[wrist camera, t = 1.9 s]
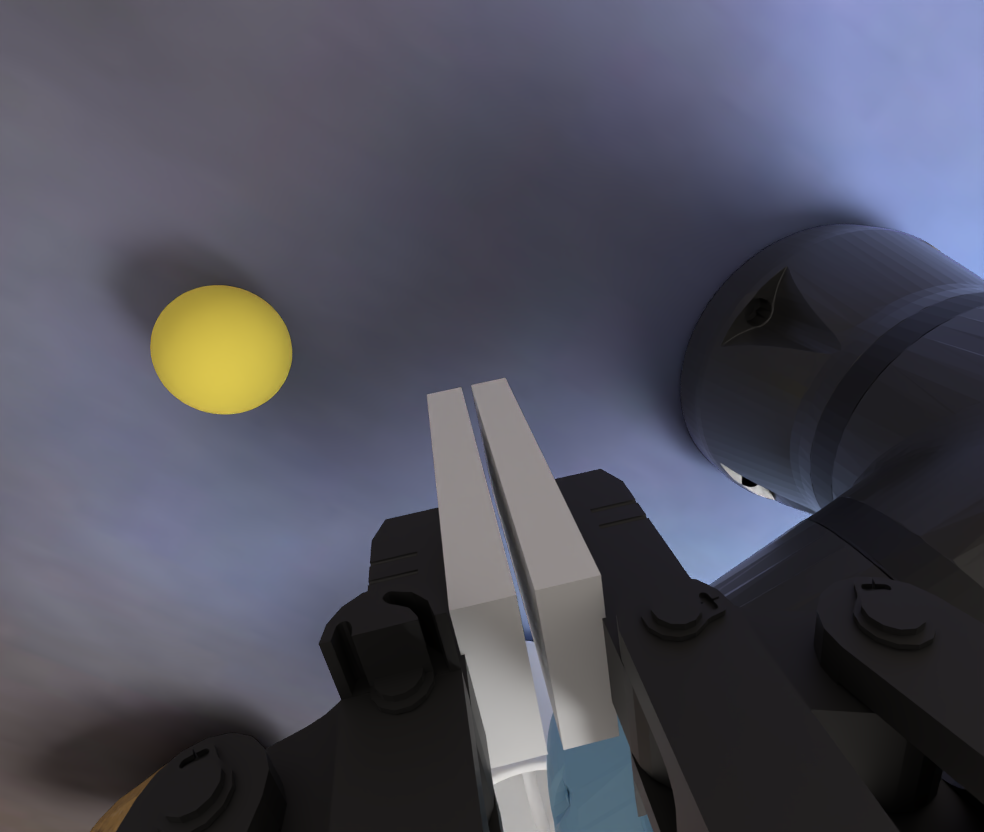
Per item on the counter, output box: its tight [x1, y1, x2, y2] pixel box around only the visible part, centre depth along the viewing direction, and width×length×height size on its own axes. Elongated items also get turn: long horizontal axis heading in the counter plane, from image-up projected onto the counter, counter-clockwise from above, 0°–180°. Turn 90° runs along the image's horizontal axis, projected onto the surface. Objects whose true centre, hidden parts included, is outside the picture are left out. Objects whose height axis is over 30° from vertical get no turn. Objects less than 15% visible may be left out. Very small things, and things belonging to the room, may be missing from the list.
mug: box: [491, 641, 555, 832], centre depth 35 cm, size 12×10×9 cm
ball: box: [150, 285, 292, 414], centre depth 24 cm, size 6×6×6 cm
